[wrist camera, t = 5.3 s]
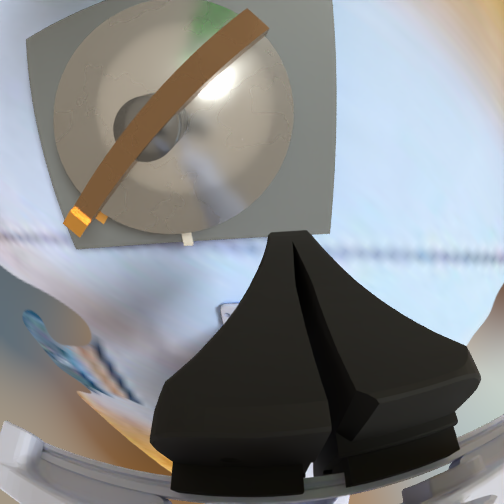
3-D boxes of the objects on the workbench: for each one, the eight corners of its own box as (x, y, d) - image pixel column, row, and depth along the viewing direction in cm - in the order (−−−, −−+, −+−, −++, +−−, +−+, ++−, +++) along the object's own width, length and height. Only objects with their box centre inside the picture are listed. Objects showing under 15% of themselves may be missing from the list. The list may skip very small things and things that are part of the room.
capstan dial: (177, 259, 19) (164, 301, 15) (35, 137, 13) (-5, 159, 10) (340, 123, 14) (367, 141, 10) (168, -37, 8) (143, -63, 5)
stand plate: (324, 224, 19) (330, 238, 18) (85, 240, 20) (76, 253, 18) (322, -20, 10) (330, -28, 9) (39, 39, 10) (24, 39, 9)
